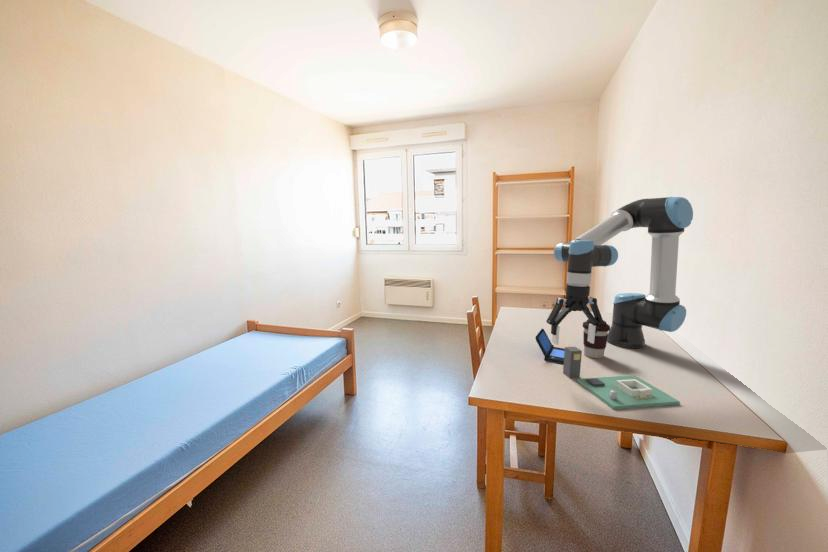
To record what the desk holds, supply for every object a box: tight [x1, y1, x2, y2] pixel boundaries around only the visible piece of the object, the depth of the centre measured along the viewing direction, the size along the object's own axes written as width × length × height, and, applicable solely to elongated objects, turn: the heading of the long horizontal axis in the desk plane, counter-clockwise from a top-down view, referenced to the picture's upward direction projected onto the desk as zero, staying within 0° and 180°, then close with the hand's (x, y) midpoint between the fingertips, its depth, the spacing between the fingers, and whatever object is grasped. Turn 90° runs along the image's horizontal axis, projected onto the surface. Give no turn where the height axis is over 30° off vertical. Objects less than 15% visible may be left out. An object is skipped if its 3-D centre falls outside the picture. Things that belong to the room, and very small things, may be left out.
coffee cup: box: [582, 318, 611, 359], centre depth 140 cm, size 10×10×15 cm
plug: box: [562, 346, 583, 379], centre depth 122 cm, size 4×5×10 cm
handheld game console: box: [535, 328, 565, 365], centre depth 140 cm, size 16×13×9 cm
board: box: [576, 374, 681, 410], centre depth 110 cm, size 22×18×3 cm
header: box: [615, 379, 652, 397], centre depth 109 cm, size 7×8×2 cm
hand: (573, 342), depth 121 cm, fingers open, 13 cm apart
